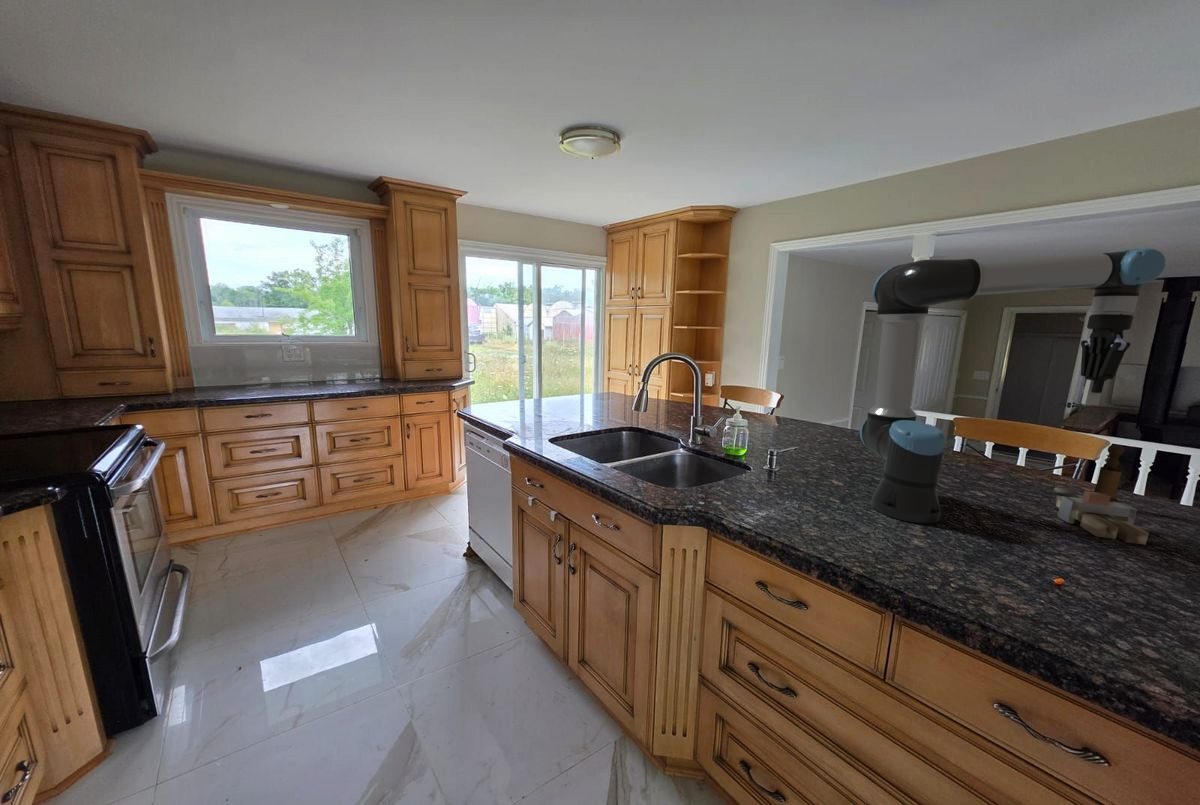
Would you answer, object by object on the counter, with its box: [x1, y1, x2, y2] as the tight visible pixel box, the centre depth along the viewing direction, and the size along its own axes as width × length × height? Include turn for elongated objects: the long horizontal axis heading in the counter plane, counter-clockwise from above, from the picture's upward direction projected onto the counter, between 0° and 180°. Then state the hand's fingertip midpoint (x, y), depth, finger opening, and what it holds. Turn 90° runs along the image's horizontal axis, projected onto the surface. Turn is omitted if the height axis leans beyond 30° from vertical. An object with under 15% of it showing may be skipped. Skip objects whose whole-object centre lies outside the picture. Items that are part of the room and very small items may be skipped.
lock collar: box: [1057, 490, 1138, 525], centre depth 112 cm, size 12×4×8 cm, turn 72°
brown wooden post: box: [1093, 444, 1125, 503], centre depth 123 cm, size 7×6×18 cm
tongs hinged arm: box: [1053, 486, 1119, 540], centre depth 115 cm, size 6×24×4 cm, turn 158°
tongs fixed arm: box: [1054, 493, 1150, 546], centre depth 114 cm, size 5×23×3 cm, turn 162°
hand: (1089, 404), depth 117 cm, fingers closed
